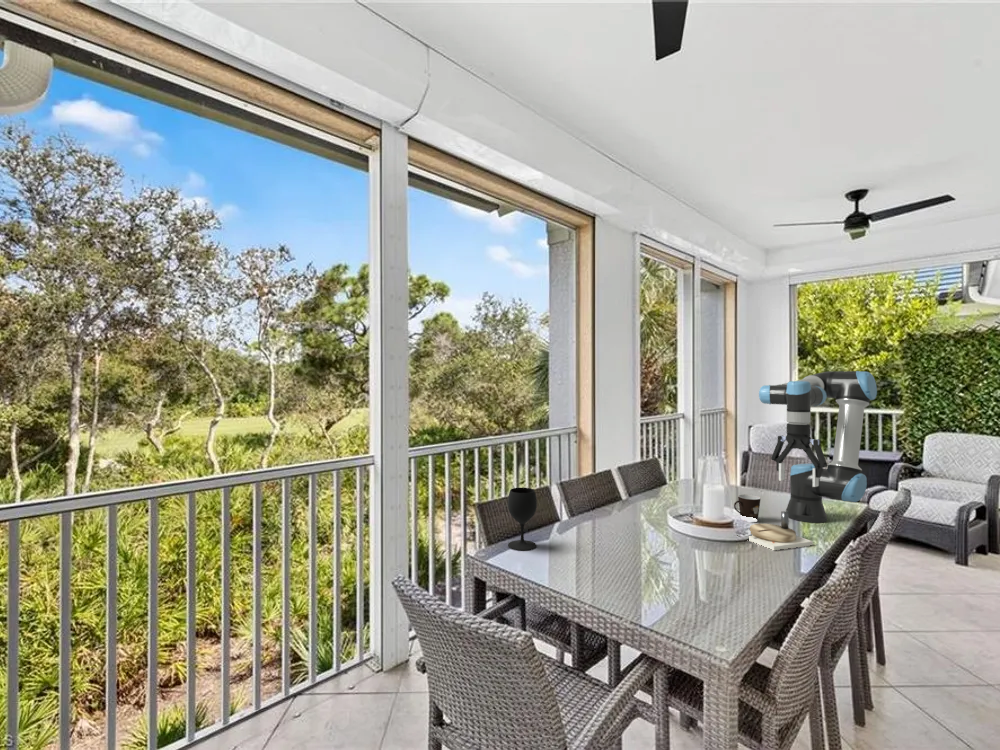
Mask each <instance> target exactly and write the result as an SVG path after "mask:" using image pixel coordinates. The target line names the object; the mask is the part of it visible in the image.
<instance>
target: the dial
mask: <svg viewBox="0 0 1000 750" xmlns="http://www.w3.org/2000/svg"><path fill="white" fill-rule="evenodd" d="M780 513H781V515H780V519H781V520H780V522H781V523H780V525H779V524H774V523H752V524H751V525H749V529H750V531H751V534H752V535H753V536H755V537H758V538H761V539H765V540H770V541H778V542H790V541H794V540H795V539H796V536H797V533H796V530H794V529H792V528H790V527H789V522H790V520H789V519H790V518H789V512H786V510H785V511H784V510H783V511H781V512H780Z"/></svg>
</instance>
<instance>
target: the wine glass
mask: <svg viewBox="0 0 1000 750" xmlns="http://www.w3.org/2000/svg"><path fill="white" fill-rule="evenodd" d="M507 498H508V499H507V508H508V512H509V514H510V516H511V517H512V518H513V520H515V521H516V522H518V523H519V526H520V539H517V540H512V541H510V542H508V544H507V548H509V549H511V550H513V551H518V552H528V551H533V550H535V549H536V548H537V546H538V545H537V543H535V542H534V541H531V540H527V539H525V538H524V535H525V533H524V531H525V529H524V528H525V524H526V523H527V522H529V521H530V520H531V519H532V518H533V517H534V515H535V514H536V511H537V507H538V499H537V494H536V491H535V489H533V488H531V487H514V488H511V489H510V490H509V494H508V497H507Z"/></svg>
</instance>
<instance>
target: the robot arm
mask: <svg viewBox="0 0 1000 750" xmlns="http://www.w3.org/2000/svg"><path fill="white" fill-rule="evenodd" d="M877 388H878V387H877V382H876V380H875V377H874V375H873V374H872V373H871V372H869V371H859V370H856V371H855V370H853V371H852V370H851V371H850V370H849V371H846V370H845V371H842V370H841V371H837V370H836V371H834V370H832V371H831V370H830V371H824V372H818V373H814V374H810V375H806V376H805V377H803V378H802V379H799V380H795V381H793V380H791V381H788V382H785V383H780V384H775V385H771V384H768V385H765V384H764V385H762V386H761V387H759V390H758V397H759V400H760V403H762V404H765V405H784V406H785V405H786V422H787V423H786V435H778V436H777V442H776V444H775V448H774V450H773V453H772V456H771V458H770V459H771V461H774V462H776V471H777V472H778V481H780V482H782V481H785V480H786V479H785V478H786V477H785V476H786V475H785V473H786V471H785V470H786V469H785V468H786V467H785V466H786V465H785V464H786V463H785V462H784V461H785V459H786V458H787V456H788V455H789V453H790V452H791V451H792V450H793V449H796V450H797V449H798V450H803V452H805V454H806V455H807V458H808V459H809V460H810V462H811V463H798V464H793V465H792V466H790V474H789V476H790V481H789V482H790V484H789V485H790V499H789V501H788V504H787V505H786V506H787V507H786V509H785V512H789V519H792V520H796V521H799V522H805V523H826V522H827V521H828V516H827V512H826V510H825V507H824V504H823V497H824V498H828V499H832V500H839V501H843V502H851V503H857V502H859V501H860V500H861V499H862V498H863V497H864V495H865V492H866V490H867V486H868V485H867V484H868V482H867V481H868V479H867V476H866V475H865V474H864V473H862V472H863V469H862V468H861V467H860V466H859V457H860V448H861V442H862V433H863V422H864V413H865V408H867V407H868V406H869V405H870V402H871V401H873V400H875V399H876V397H877V395H878V389H877ZM827 399H835V402H836V403H837V404H838V406H839V407H838V415H837V421H836V432H835V440H834V447H833V456H832V461H831V462H829V463H828V462H827V460H826V457H825V454H824V452H823V449H822V446H821V440H820V439H819V438H818V439H817V438H816V439H815V438H814V439H813V438H811V425H810V423H811V407H818V406H821V405H822V404H824V403H825V402H826V400H827ZM785 442H787V444H786V446H785V448H784V449H783V446H784V444H785ZM810 443H811V445H812V446H813V449H814V452H815V453H814V452H813V450H812V448H811V446H810ZM782 449H783V451H782Z"/></svg>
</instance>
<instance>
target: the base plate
mask: <svg viewBox="0 0 1000 750" xmlns="http://www.w3.org/2000/svg"><path fill="white" fill-rule="evenodd" d="M748 542H750V543H753V542H754V543H753V544H756V543H757V544H756V545H758V544H759V545H758V546H761V545H762V546H761V547H763V546H764V548H765V547H767V548H766V549H768V548H770V549H772V550H771V551H773V550H777V551H781V550H780V549H784V550H789V549H788V548H791V549H795V548H796V547H798V548H805V547H811V546H810V545H812V546H813V544H814V543H813V540H810V539H806V538H804V537H802V536H799V535H796V539H795V540H794V541H790V542H778V541H770V540H765V539H761V538H758V537H755V536H753V535H752V536H749V541H748ZM804 546H805V547H804ZM770 549H769V550H770Z"/></svg>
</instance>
